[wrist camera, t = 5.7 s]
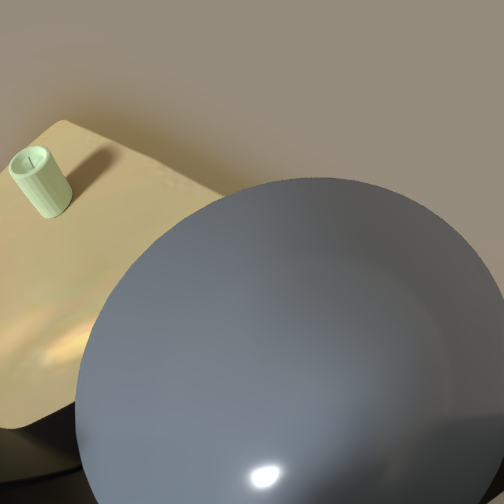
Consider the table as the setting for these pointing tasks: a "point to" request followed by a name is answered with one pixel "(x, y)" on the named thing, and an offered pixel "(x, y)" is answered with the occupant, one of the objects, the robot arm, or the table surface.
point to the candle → (41, 180)
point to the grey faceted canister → (297, 357)
